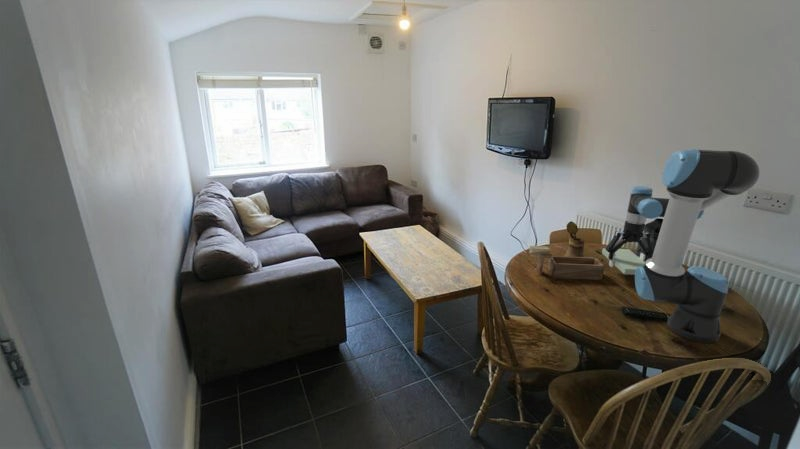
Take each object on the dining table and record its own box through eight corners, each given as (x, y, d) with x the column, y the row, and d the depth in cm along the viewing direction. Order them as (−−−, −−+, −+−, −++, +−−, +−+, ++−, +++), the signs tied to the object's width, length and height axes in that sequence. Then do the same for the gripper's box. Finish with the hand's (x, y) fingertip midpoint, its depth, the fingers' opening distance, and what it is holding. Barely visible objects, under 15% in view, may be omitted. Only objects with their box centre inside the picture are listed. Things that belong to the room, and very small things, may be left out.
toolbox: (601, 279, 174) (606, 258, 170) (540, 277, 176) (543, 256, 172) (593, 270, 183) (597, 250, 179) (535, 268, 185) (537, 248, 181)
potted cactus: (573, 252, 204) (579, 220, 198) (587, 262, 191) (593, 229, 185) (557, 252, 203) (562, 221, 198) (570, 263, 191) (575, 229, 185)
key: (548, 254, 175) (549, 248, 174) (530, 254, 176) (531, 248, 175) (546, 252, 178) (547, 246, 177) (529, 251, 179) (530, 245, 178)
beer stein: (660, 262, 193) (671, 215, 185) (679, 279, 175) (693, 228, 167) (625, 259, 196) (634, 213, 187) (640, 276, 177) (652, 225, 169)
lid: (627, 254, 182) (628, 249, 181) (653, 275, 161) (655, 270, 160) (601, 253, 183) (602, 248, 182) (624, 274, 162) (625, 268, 161)
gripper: (659, 219, 168) (649, 264, 175) (602, 218, 170) (594, 262, 177) (669, 225, 161) (658, 271, 168) (610, 223, 163) (601, 269, 170)
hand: (625, 266), depth 172 cm, fingers closed on lid, 12 cm apart
